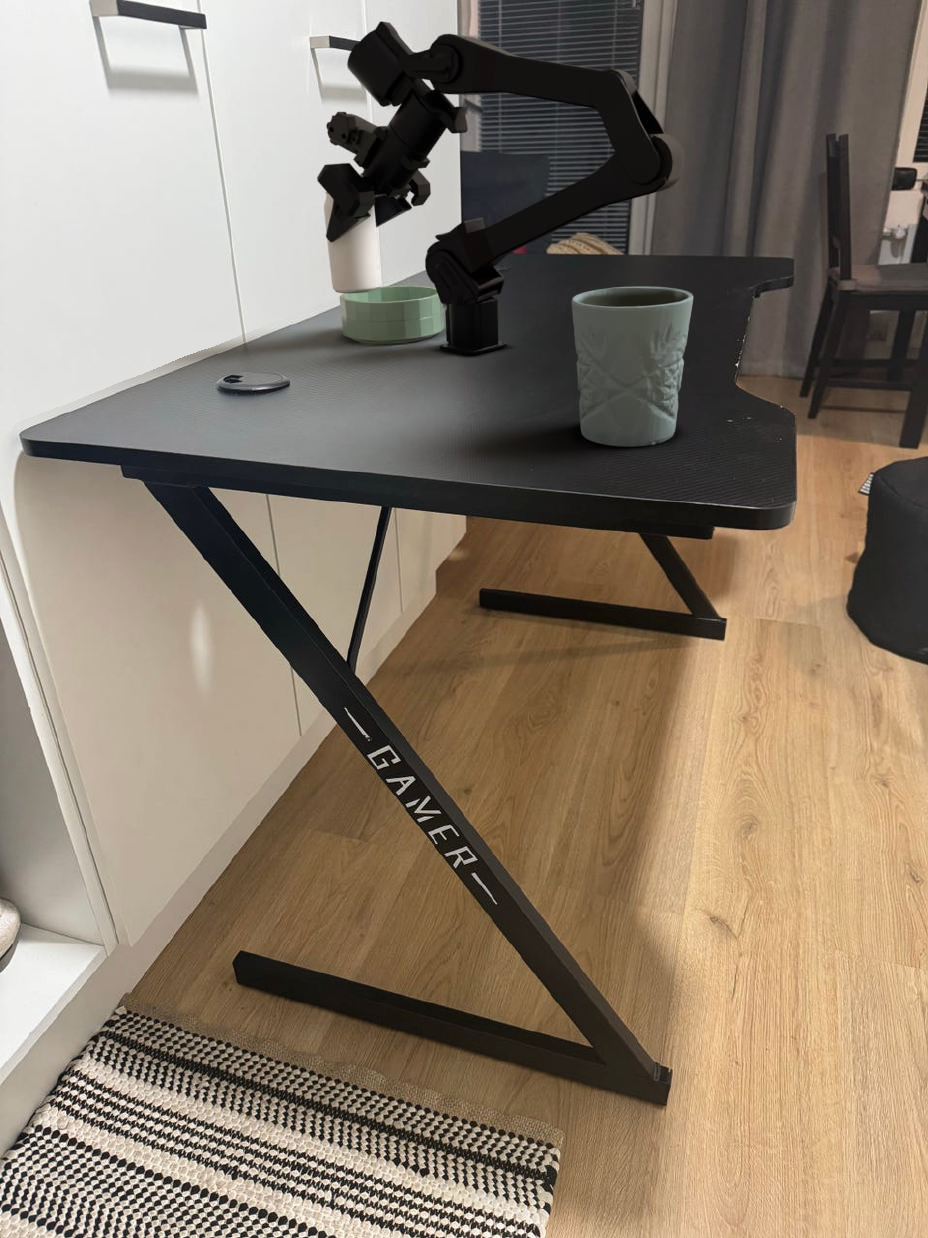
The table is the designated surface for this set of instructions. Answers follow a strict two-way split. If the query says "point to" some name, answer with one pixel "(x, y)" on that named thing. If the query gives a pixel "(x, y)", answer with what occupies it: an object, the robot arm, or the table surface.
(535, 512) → the table surface
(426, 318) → the mint green shallow bowl
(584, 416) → the drinking glass
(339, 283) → the can
